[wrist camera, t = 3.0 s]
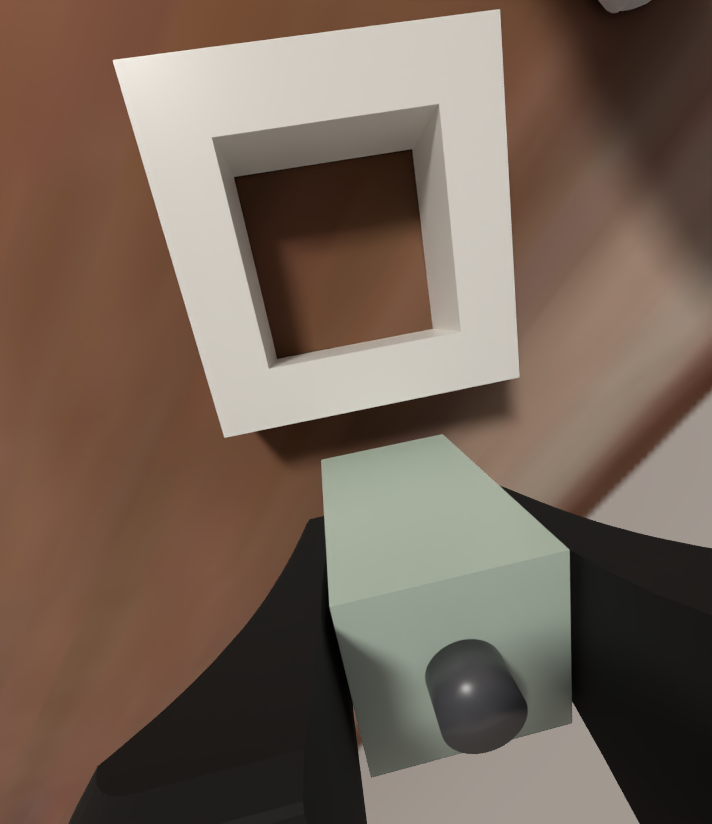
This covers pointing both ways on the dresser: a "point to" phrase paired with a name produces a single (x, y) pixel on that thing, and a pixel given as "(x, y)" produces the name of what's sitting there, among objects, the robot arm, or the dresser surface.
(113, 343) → the dresser surface
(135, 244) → the dresser surface
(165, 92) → the white square frame
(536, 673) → the pale green block
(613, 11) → the photo printer
